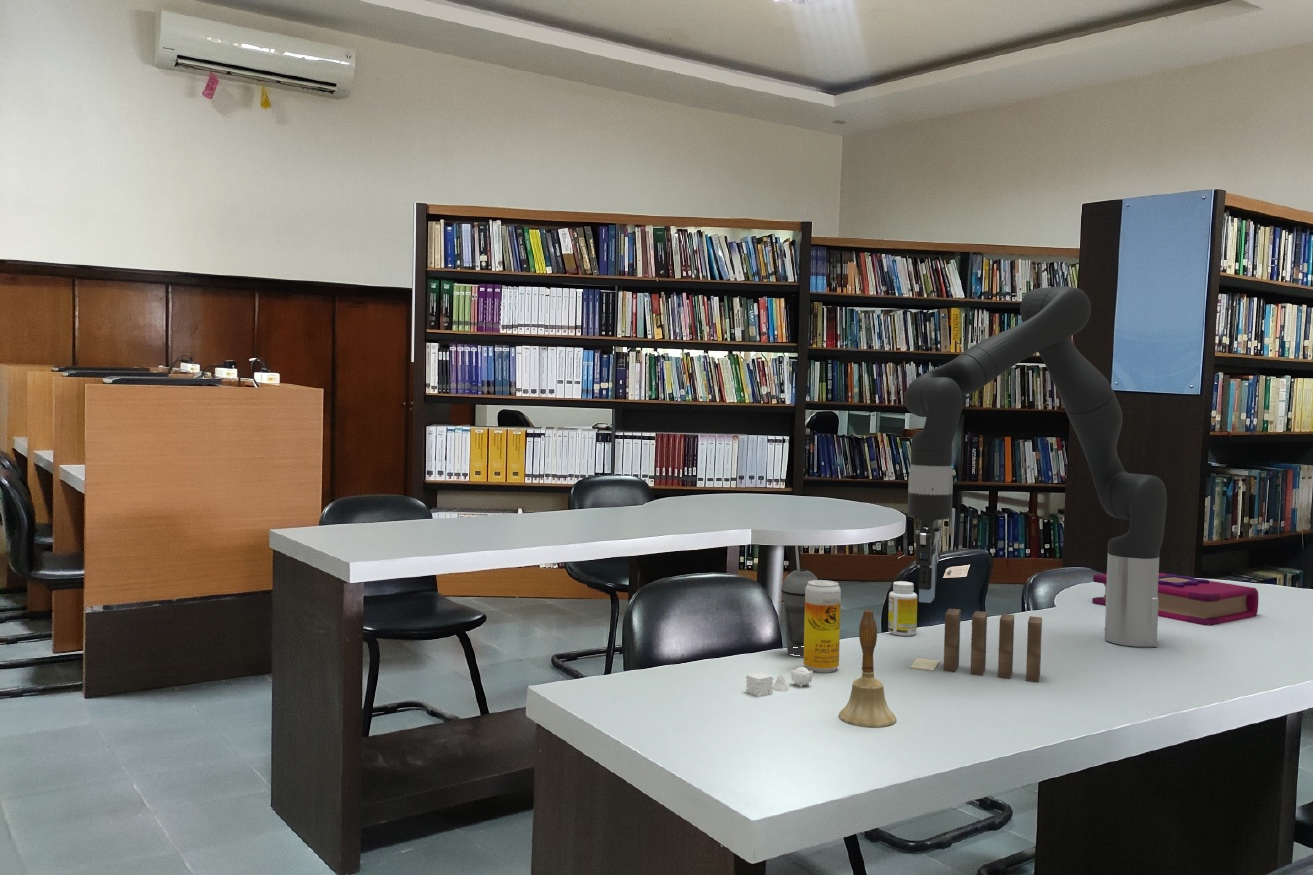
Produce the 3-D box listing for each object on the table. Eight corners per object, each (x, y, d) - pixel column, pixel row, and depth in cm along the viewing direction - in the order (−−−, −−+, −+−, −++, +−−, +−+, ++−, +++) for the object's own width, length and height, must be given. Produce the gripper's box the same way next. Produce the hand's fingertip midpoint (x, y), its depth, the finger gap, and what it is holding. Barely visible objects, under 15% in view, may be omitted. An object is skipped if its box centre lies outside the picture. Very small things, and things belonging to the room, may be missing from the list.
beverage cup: (810, 661, 180) (813, 549, 179) (773, 655, 184) (775, 546, 183) (826, 653, 186) (828, 545, 186) (789, 647, 190) (792, 541, 189)
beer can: (817, 674, 171) (819, 587, 171) (796, 666, 177) (798, 581, 176) (846, 671, 174) (848, 584, 174) (824, 662, 180) (826, 578, 179)
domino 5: (1040, 675, 174) (1042, 617, 174) (1038, 682, 169) (1040, 623, 169) (1027, 673, 175) (1029, 616, 174) (1025, 680, 170) (1027, 621, 170)
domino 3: (985, 668, 178) (987, 612, 177) (982, 675, 173) (984, 617, 173) (973, 667, 178) (975, 611, 178) (970, 674, 174) (972, 616, 173)
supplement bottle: (922, 634, 203) (923, 583, 203) (904, 638, 200) (906, 586, 199) (899, 629, 207) (900, 579, 207) (882, 632, 204) (883, 582, 203)
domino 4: (1012, 671, 176) (1014, 614, 175) (1010, 678, 171) (1012, 620, 171) (1000, 670, 177) (1002, 613, 176) (997, 677, 172) (999, 619, 172)
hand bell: (860, 730, 143) (863, 618, 142) (827, 713, 150) (830, 607, 150) (908, 723, 146) (911, 614, 146) (873, 707, 154) (876, 603, 153)
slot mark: (939, 661, 182) (939, 660, 182) (933, 670, 175) (933, 669, 175) (916, 659, 183) (916, 657, 183) (910, 668, 177) (910, 667, 177)
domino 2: (958, 665, 179) (960, 609, 179) (955, 672, 175) (957, 614, 174) (947, 664, 180) (948, 608, 180) (943, 670, 176) (945, 613, 175)
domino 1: (934, 598, 181) (936, 542, 180) (930, 602, 176) (932, 545, 176) (923, 596, 181) (924, 541, 181) (918, 601, 177) (920, 544, 176)
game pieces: (758, 699, 158) (758, 679, 158) (745, 694, 161) (745, 674, 161) (816, 687, 165) (816, 668, 164) (802, 682, 167) (802, 663, 167)
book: (1140, 596, 250) (1141, 566, 250) (1258, 618, 227) (1259, 584, 227) (1089, 604, 239) (1090, 572, 239) (1208, 628, 216) (1209, 593, 215)
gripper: (946, 495, 170) (943, 595, 171) (957, 489, 183) (954, 582, 184) (901, 492, 173) (898, 591, 174) (915, 486, 186) (912, 578, 187)
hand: (927, 586), depth 179 cm, fingers closed on domino 1, 5 cm apart
